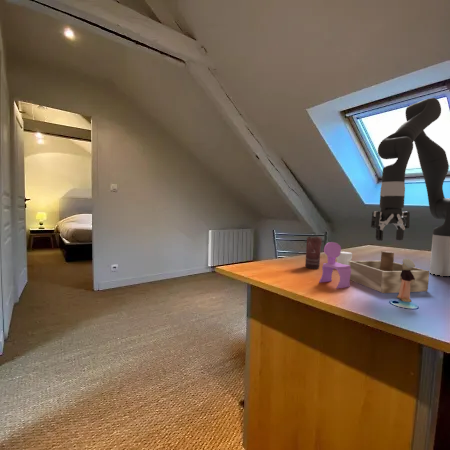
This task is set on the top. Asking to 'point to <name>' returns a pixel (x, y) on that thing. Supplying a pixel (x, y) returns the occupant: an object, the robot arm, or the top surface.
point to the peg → (387, 261)
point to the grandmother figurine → (406, 280)
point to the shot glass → (344, 258)
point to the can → (313, 252)
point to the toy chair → (335, 266)
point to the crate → (386, 276)
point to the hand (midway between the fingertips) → (389, 240)
